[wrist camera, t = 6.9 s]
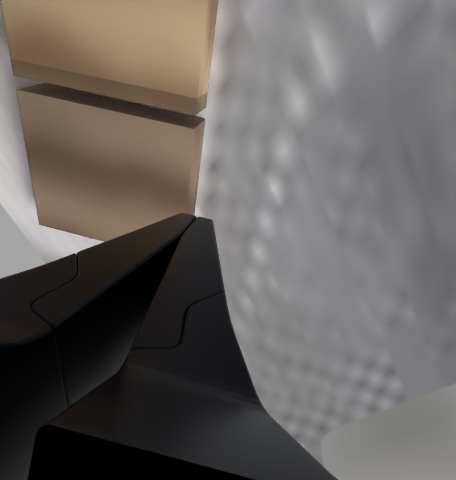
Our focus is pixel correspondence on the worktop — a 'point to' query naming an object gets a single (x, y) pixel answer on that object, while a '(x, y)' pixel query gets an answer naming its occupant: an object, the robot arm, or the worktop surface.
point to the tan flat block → (107, 161)
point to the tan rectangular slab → (116, 47)
